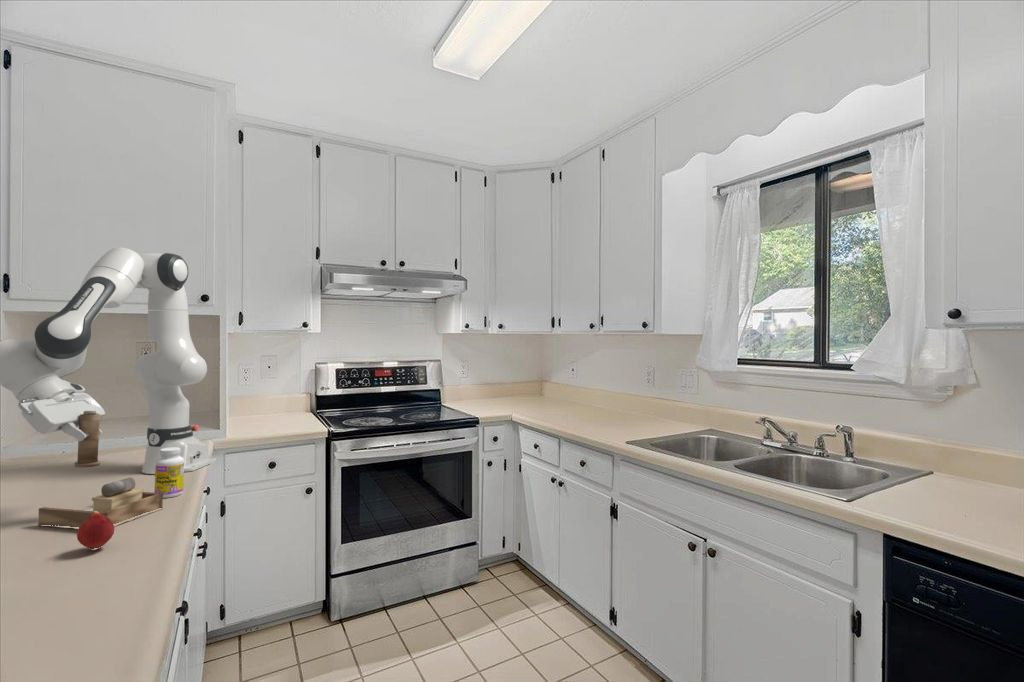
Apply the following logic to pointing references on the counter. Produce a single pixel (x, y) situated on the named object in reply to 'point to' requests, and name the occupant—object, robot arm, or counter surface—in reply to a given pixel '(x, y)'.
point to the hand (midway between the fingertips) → (91, 437)
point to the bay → (115, 515)
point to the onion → (95, 531)
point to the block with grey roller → (116, 495)
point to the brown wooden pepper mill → (88, 440)
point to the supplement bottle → (169, 473)
